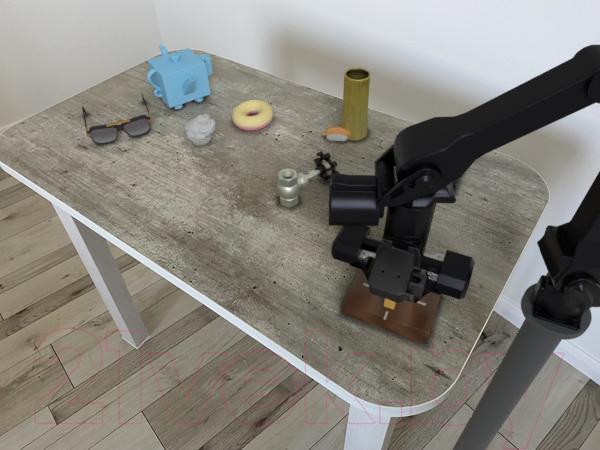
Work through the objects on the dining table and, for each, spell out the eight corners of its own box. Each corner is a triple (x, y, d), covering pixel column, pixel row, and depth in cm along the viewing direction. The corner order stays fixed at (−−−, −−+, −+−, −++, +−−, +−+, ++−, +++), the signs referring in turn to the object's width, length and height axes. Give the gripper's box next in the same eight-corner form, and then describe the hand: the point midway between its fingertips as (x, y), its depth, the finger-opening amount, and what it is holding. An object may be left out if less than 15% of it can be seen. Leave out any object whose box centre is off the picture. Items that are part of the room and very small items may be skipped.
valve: (291, 215, 89) (339, 187, 94) (289, 188, 84) (340, 160, 90) (270, 196, 93) (317, 171, 98) (267, 170, 88) (317, 144, 93)
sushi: (350, 143, 104) (351, 131, 102) (321, 141, 105) (321, 130, 103) (351, 136, 106) (351, 124, 104) (322, 134, 107) (322, 123, 105)
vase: (347, 122, 110) (350, 63, 100) (371, 129, 108) (377, 70, 97) (334, 136, 106) (336, 76, 96) (359, 144, 104) (364, 84, 94)
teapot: (168, 123, 111) (156, 79, 103) (140, 90, 122) (128, 47, 114) (229, 102, 117) (222, 58, 109) (198, 72, 128) (190, 30, 120)
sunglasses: (144, 101, 118) (139, 83, 115) (156, 134, 108) (150, 115, 105) (85, 114, 115) (78, 96, 111) (92, 150, 105) (84, 130, 101)
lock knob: (394, 279, 74) (397, 259, 71) (404, 282, 74) (408, 262, 71) (383, 306, 71) (386, 286, 68) (393, 310, 71) (397, 290, 67)
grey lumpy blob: (216, 152, 103) (211, 125, 98) (184, 151, 104) (177, 124, 99) (221, 136, 107) (217, 108, 102) (191, 135, 108) (185, 107, 103)
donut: (277, 121, 115) (242, 109, 116) (280, 103, 112) (244, 91, 113) (261, 139, 107) (223, 126, 108) (264, 120, 104) (225, 107, 106)
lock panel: (440, 295, 76) (444, 283, 74) (425, 346, 70) (429, 334, 67) (362, 270, 80) (363, 258, 77) (341, 316, 74) (342, 304, 71)
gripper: (316, 242, 59) (316, 314, 70) (471, 291, 53) (444, 361, 65) (348, 186, 66) (343, 260, 77) (488, 225, 60) (461, 298, 72)
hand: (394, 293), depth 72 cm, fingers open, 6 cm apart
